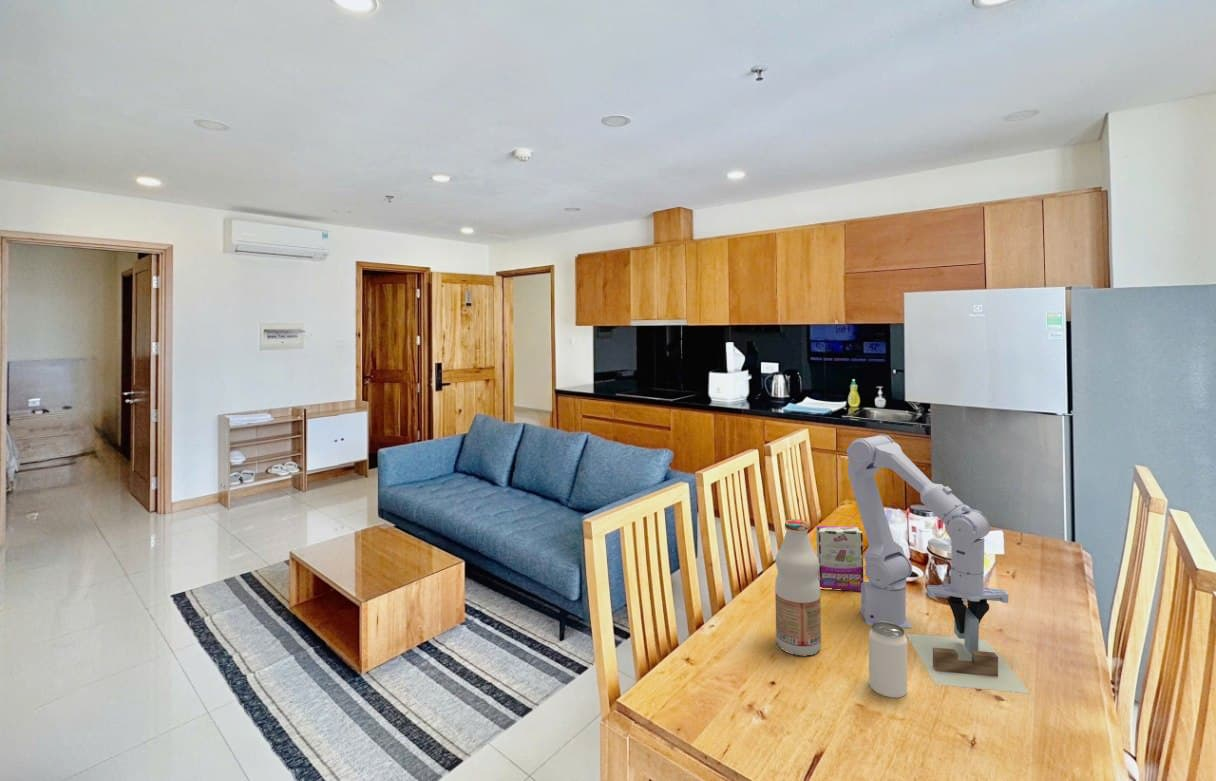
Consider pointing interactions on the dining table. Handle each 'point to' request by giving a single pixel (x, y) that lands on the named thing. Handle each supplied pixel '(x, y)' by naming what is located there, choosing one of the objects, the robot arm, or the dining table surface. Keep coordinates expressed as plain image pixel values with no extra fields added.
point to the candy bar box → (840, 557)
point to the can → (888, 659)
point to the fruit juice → (798, 592)
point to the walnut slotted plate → (965, 662)
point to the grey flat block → (969, 631)
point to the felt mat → (925, 652)
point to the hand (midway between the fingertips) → (966, 631)
